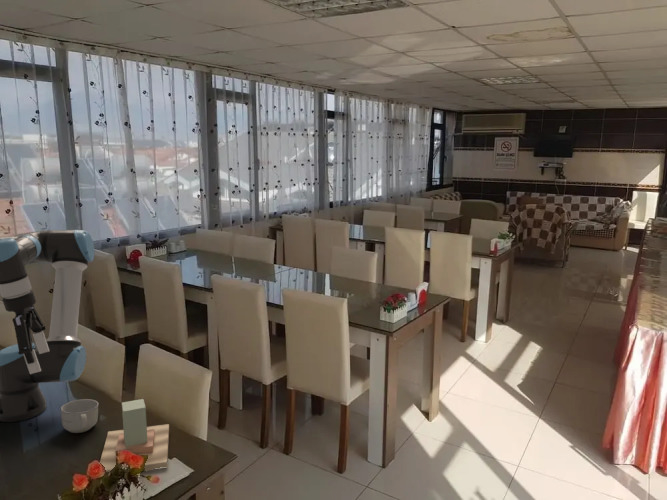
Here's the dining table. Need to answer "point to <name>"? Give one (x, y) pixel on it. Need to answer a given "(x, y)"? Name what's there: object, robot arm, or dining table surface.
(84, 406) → the teacup
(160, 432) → the stand
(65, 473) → the dining table surface
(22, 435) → the dining table surface
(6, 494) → the dining table surface
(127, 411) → the pillar block
